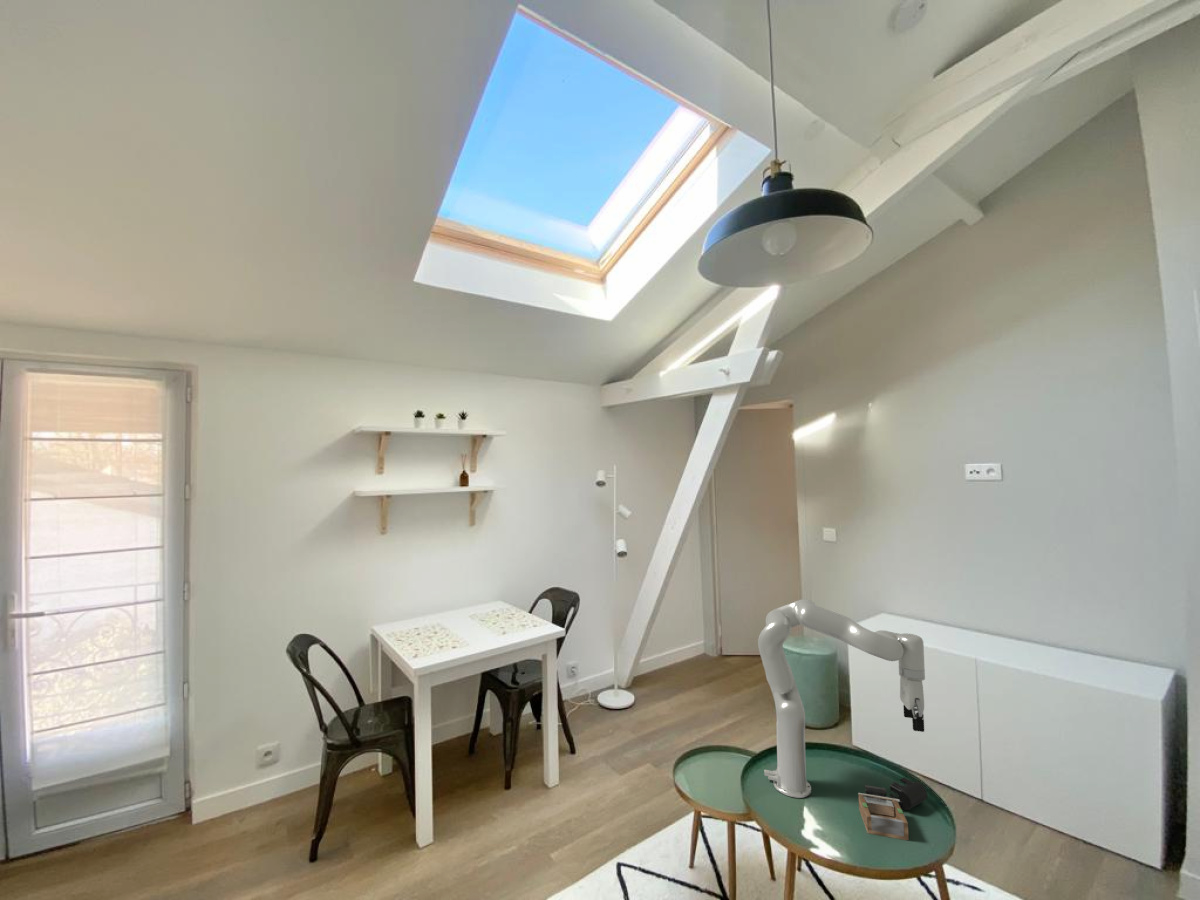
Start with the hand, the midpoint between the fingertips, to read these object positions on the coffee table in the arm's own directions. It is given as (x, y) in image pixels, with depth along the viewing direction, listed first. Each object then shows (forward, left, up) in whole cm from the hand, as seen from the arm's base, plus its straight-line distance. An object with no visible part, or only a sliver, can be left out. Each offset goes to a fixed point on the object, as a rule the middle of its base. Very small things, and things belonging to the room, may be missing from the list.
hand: (913, 723), depth 167 cm
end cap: (-2, 0, -27) cm, 27 cm away
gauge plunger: (-14, -7, -25) cm, 30 cm away
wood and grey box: (-13, -13, -27) cm, 33 cm away
